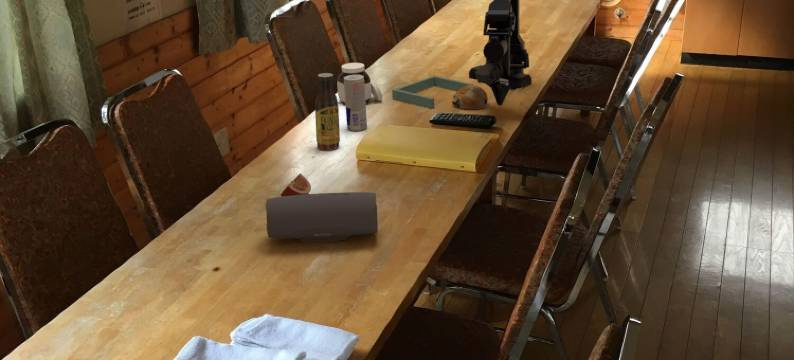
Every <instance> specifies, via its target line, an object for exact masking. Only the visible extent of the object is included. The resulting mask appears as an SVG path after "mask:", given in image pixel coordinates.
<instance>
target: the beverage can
mask: <svg viewBox="0 0 794 360" xmlns="http://www.w3.org/2000/svg"><path fill="white" fill-rule="evenodd" d="M344 90H345V104H346V105H345V104H344V105H345V116H346V117H345V118H346V119H345V120H346V128H347V129H348V130H349V131H353V132H359V131H364V130H365V129H367V128H368V124H367V123H368V121H367V119H368V118H367V103H366V101H365V85H364V76H362V75H349V76H346V77H344Z"/></svg>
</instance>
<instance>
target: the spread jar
mask: <svg viewBox="0 0 794 360" xmlns="http://www.w3.org/2000/svg"><path fill="white" fill-rule="evenodd" d="M349 75H362V76H364V85H365V101H366V104H367V103H368V102H369V101H371V98H372V96H373V98H374V99H375V100H376V101H377V102H379V101H381V100H382V99H383V93H382V91H381V88H380V87H379V86H378V83H377V82H376V81H375V80H374V79H373V78H371V77H370V76H369V74H368V73H367V71H365V64H364V63H361V62H348V63H343V64H342V65H341V73H340V74H339V75H338V76H337V80H336V81H337V83H336V84H337V85H336V86H337V94H338V95H337V97H338V99H339V101H341V103H342V104H343V105H345V106H346V104H345V90H344V77H346V76H349Z"/></svg>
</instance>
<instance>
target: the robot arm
mask: <svg viewBox="0 0 794 360" xmlns="http://www.w3.org/2000/svg"><path fill="white" fill-rule="evenodd" d="M482 33H483V36H488V40H487V42H486V43H485V45H484V46H483V51H482V52H483V56H484V58H485V64H482V65H481V64H480V65H477V66H474V67H471V68H470V69H469V71H468V78H469V79H470V80H477V83H478V84H484V85H487V86H488V87H489V88H490V89H491V92H492V94H493V96H494V99H495V101H496V102H495V103H496V105H497V106H500V107H501V106H502V105H503V104H504V102H505V100H506V97H507V95H508V93H509V92H510V90H511V89H512V90H518V89H523V88H525V87H526V88H527V87H528V86H530V85H532V83H533V82H532V81H533V77H532V76H531V74H527V73H524V70H526V69H527V68H528V69H529V68H530V57H529V56H530V55H529V53H528V49H527V48H526V47H525V45H526V43H525V41H524V39H523V38H522V36H521V34H520V0H492V2H490V3H489V5H488V7H487V11H485V15H484V25H483V32H482Z"/></svg>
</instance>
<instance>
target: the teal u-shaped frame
mask: <svg viewBox="0 0 794 360" xmlns="http://www.w3.org/2000/svg"><path fill="white" fill-rule="evenodd" d="M467 85H474V84H473V83H469V82H465V81H461V80H457V79H453V78H452V79H451V78H448V77H442V76H438V75H432V76H429V77H426V78H425V77H424V78H423V79H419V80H416V81H413V82H410V83H407V84H405V85H402V86H399V87H397V88H393V89H392V90H391V92H392V93H391V94H392V95H391V96H392V100H394V101H397V102H403V103H406V102H407V104H410V103H412V104H411V105H414V104H416V105H415V106H418V105H419V106H418V107H422V106H423V108H426V107H428V108H427V109H430V108H431V110H432V108H433V109H435V98H434V97H430V96H426V95H422V94H419V92H422V91H425V90H427V89H430V88H433V87H437V88H442V89H445V90H449V91H454V92H457V91H458V90H459V89H460V88H462V87H464V86H467ZM424 89H425V90H424ZM421 90H422V91H421ZM418 91H419V92H418ZM415 92H416V93H415Z"/></svg>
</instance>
